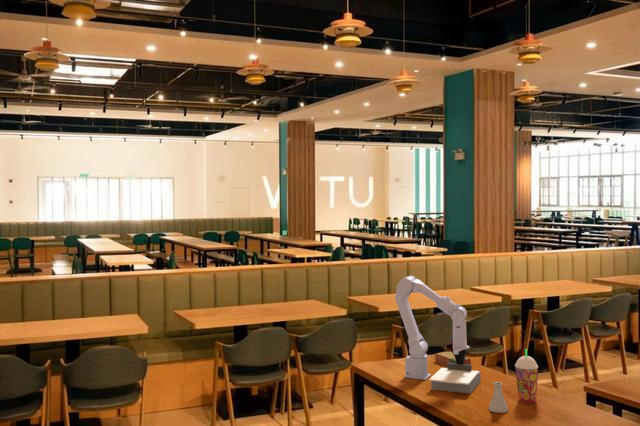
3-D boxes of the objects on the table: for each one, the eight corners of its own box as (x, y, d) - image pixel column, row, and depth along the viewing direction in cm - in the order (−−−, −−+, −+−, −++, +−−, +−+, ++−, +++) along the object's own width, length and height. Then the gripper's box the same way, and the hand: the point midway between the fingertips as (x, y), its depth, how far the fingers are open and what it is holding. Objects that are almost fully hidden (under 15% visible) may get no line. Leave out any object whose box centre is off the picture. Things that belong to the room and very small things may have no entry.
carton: (448, 359, 308) (448, 350, 308) (471, 367, 294) (471, 358, 294) (435, 362, 304) (434, 353, 304) (457, 370, 290) (457, 360, 290)
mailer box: (431, 389, 262) (431, 379, 262) (443, 377, 278) (443, 368, 278) (470, 393, 255) (470, 383, 255) (480, 381, 271) (480, 371, 271)
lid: (429, 380, 260) (429, 373, 260) (441, 369, 276) (441, 361, 276) (468, 384, 253) (468, 377, 253) (479, 372, 269) (478, 365, 269)
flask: (509, 407, 238) (508, 381, 237) (508, 414, 231) (507, 386, 230) (489, 406, 240) (488, 379, 240) (487, 412, 233) (486, 385, 233)
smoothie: (511, 399, 246) (509, 348, 246) (528, 396, 250) (527, 345, 249) (526, 405, 239) (524, 352, 238) (543, 402, 242) (542, 349, 241)
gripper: (464, 340, 264) (465, 372, 265) (473, 332, 277) (473, 363, 278) (448, 338, 267) (448, 371, 268) (456, 331, 280) (457, 362, 281)
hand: (460, 367), depth 273 cm, fingers closed
